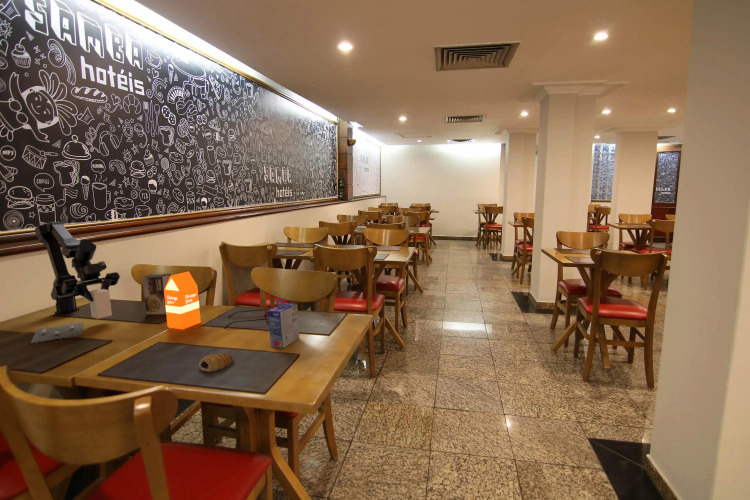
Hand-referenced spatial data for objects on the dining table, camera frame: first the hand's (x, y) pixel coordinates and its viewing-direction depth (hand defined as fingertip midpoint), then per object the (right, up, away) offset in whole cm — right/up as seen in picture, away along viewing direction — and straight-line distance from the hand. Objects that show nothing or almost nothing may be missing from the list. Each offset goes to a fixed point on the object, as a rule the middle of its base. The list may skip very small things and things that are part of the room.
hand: (100, 299), depth 158 cm
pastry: (+59, -15, -39) cm, 72 cm away
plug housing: (0, -6, +1) cm, 7 cm away
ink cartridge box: (+76, -12, -21) cm, 79 cm away
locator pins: (-9, -11, -10) cm, 17 cm away
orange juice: (+33, -10, -1) cm, 34 cm away
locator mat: (-10, -11, -8) cm, 17 cm away
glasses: (+56, -9, +2) cm, 57 cm away
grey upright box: (+15, -8, +16) cm, 23 cm away
